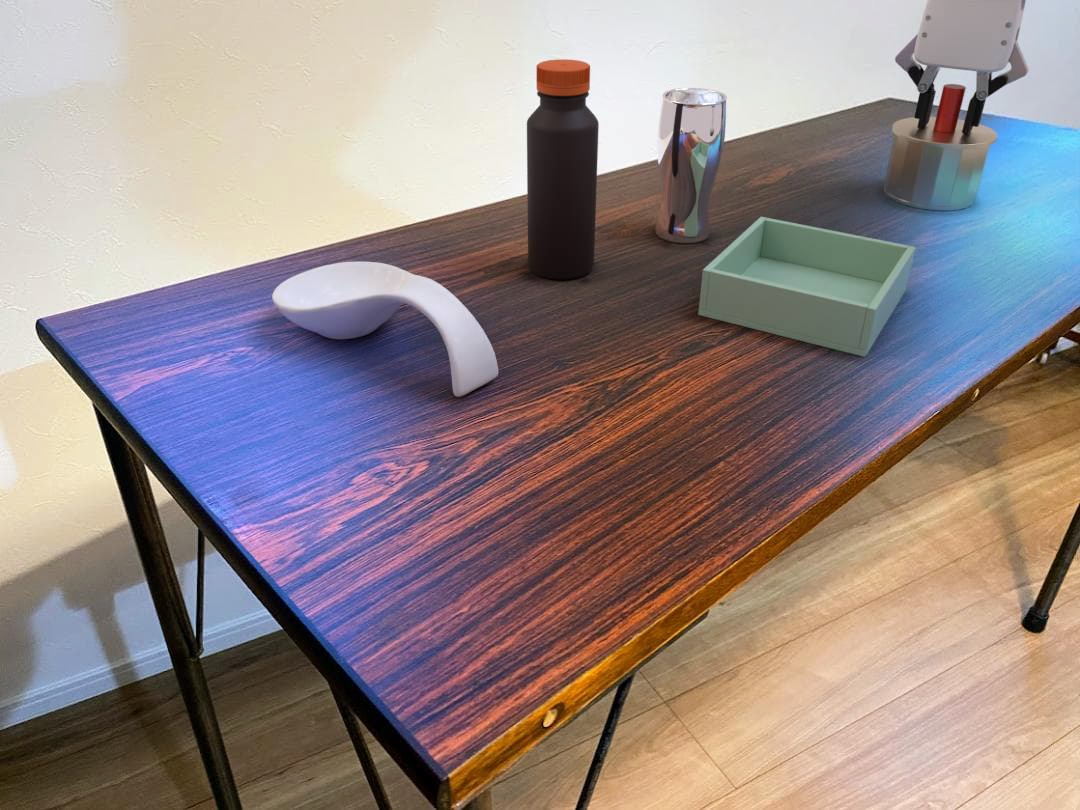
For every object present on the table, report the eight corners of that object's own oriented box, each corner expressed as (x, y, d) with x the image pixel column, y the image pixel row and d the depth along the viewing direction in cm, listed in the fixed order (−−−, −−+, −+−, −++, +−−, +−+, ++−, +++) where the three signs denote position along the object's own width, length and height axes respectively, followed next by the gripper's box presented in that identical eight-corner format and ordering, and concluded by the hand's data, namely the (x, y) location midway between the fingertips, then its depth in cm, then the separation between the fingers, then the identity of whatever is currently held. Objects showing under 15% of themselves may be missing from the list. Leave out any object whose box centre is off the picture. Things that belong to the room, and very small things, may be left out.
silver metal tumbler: (711, 222, 104) (726, 87, 96) (715, 246, 98) (731, 105, 90) (650, 220, 104) (660, 86, 96) (651, 244, 98) (661, 103, 90)
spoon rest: (252, 325, 83) (238, 252, 79) (354, 284, 90) (346, 215, 86) (429, 420, 69) (422, 338, 66) (531, 363, 77) (531, 286, 73)
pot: (981, 190, 113) (998, 129, 109) (966, 216, 105) (983, 153, 101) (894, 175, 117) (907, 117, 113) (874, 200, 110) (886, 138, 106)
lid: (1001, 134, 109) (1016, 82, 106) (986, 160, 101) (1001, 104, 98) (903, 120, 114) (913, 70, 111) (880, 144, 106) (891, 90, 103)
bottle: (606, 265, 94) (615, 63, 83) (566, 287, 89) (569, 77, 78) (555, 249, 97) (557, 53, 86) (514, 269, 93) (510, 66, 82)
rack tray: (905, 290, 89) (916, 246, 86) (865, 357, 78) (876, 309, 75) (755, 257, 95) (760, 216, 93) (697, 315, 84) (702, 269, 82)
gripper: (1076, -42, 96) (1026, 131, 106) (912, -51, 103) (879, 111, 113) (1069, -34, 91) (1017, 148, 101) (896, -44, 98) (864, 126, 108)
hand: (945, 127), depth 107 cm, fingers open, 4 cm apart
